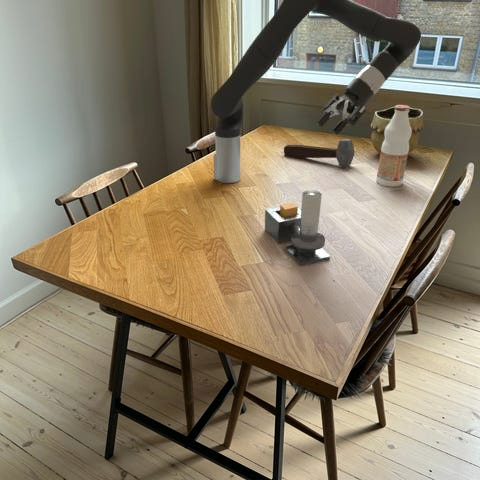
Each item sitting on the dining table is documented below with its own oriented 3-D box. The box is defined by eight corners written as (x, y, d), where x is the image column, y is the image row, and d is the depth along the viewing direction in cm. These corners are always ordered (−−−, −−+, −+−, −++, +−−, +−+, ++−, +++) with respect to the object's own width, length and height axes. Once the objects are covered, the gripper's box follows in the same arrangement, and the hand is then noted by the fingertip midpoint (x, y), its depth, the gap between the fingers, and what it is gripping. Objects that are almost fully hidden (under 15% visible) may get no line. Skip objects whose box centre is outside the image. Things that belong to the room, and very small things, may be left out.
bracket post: (264, 230, 132) (266, 173, 123) (292, 224, 135) (296, 169, 126) (299, 266, 115) (304, 204, 106) (330, 258, 118) (338, 197, 109)
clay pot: (388, 168, 178) (397, 118, 168) (356, 152, 194) (362, 106, 185) (427, 161, 185) (438, 113, 175) (393, 146, 202) (401, 102, 192)
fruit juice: (380, 187, 160) (393, 109, 146) (372, 177, 169) (384, 103, 155) (405, 187, 161) (421, 109, 147) (397, 177, 169) (411, 103, 155)
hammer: (283, 165, 192) (350, 169, 176) (281, 139, 187) (350, 141, 171) (288, 161, 195) (354, 165, 179) (286, 136, 190) (354, 138, 175)
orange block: (280, 229, 131) (280, 205, 126) (291, 226, 132) (292, 202, 128) (284, 234, 128) (285, 209, 124) (297, 230, 129) (297, 206, 125)
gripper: (344, 72, 131) (307, 114, 133) (373, 81, 119) (332, 126, 121) (357, 89, 135) (320, 130, 137) (386, 99, 124) (346, 143, 126)
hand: (326, 128), depth 129 cm, fingers open, 8 cm apart
